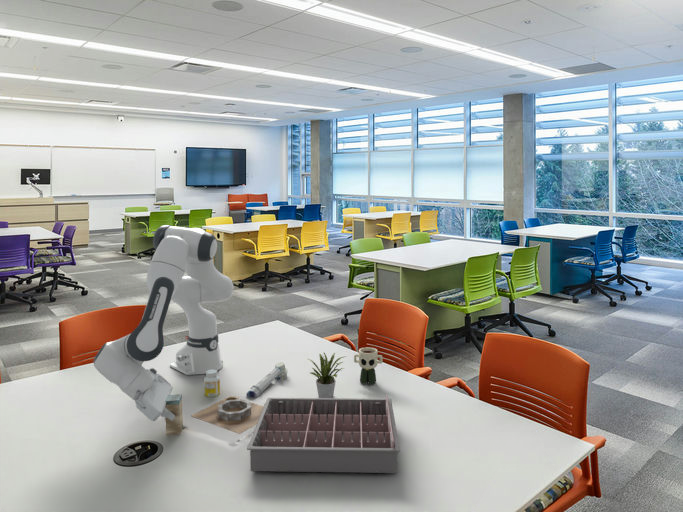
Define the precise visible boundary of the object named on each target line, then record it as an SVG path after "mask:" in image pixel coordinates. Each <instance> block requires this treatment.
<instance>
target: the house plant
mask: <svg viewBox="0 0 683 512" xmlns="http://www.w3.org/2000/svg"><path fill="white" fill-rule="evenodd" d="M335 354H336V352H334V353H333V354H332V355H331V357H330V359H329V360H328V357H327V354H326V353H325V352H323V354H321V353H319V356H318V357H319V362H320V368H319V366H318V364H317V363H315V362H314V360H313V359H310V358H308V360H309V361H310V362H311V363H312V364H313V365H314V366H315V367H316V368H314V367H311V368H312V370H313V371H311V372H309V374H311V375H313V376H314V377H315V378H317V379H316V380H315V384H316V390H317V395H318V398H334V393H335V387H336V379H335V378H337V377H338V372H340V371H342V370H344V369H345V367H344V368H343V367H341V368H340V369H339V368H337V367H338V366H340V365H341V364H342V363H344V361H341V362H339V363H338V361H340V360H341V359H343V358H346V357H348V356H347V355H346V356H340V357H338V358H337V359H336V360H335ZM335 365H336V366H335ZM332 369H333V370H332ZM334 372H335V373H334ZM333 373H334V374H333Z"/></svg>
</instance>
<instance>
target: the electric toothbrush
mask: <svg viewBox="0 0 683 512" xmlns="http://www.w3.org/2000/svg"><path fill="white" fill-rule="evenodd" d="M285 378H286V379H287V378H288V368H287V367H286V365H285V363H284V362H281V361H280V362H277V363H276V364H275V366H274V368H273V369H272V370H271V371H270V372H269V373H268V374H267V375H266V376H264V377H263V378H262V379H260V380H259V381H258V382H257V383H256V384H254V385H252V386H251V387H250V390H249V389H248V391H247V392H245V393H246V397H248V398H253V399H256V398H257V397H259V396H260V395H262V394H263V392H264V391H265V390H266V389H267V388H268V387H269V386H270V385H271V383H273V382H274V380H276V379H277V380H276V381H283V380H286V379H285ZM282 379H283V380H282Z"/></svg>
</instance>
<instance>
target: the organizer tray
mask: <svg viewBox="0 0 683 512" xmlns="http://www.w3.org/2000/svg"><path fill="white" fill-rule="evenodd" d="M399 443H400V442H399V438H398V432H397V426H396V420H395V414H394V408H393V402H392V399H391V398H388V394H385V398H343V397H342V398H337V397H335V398H334V397H333V398H319V397H317V398H316V397H267V398H266V401H265V404H264V408H263V410H262V413H261V415H260V418H259V420H258V423H257V424H256V425H255V427H254V430H253V433H252V435H251V437H250V440H249V443H248V445H247V447H246V450H247V451H249V453H250V455H249V457H250V460H249V461H250V472H297V473H298V472H300V473H301V472H302V473H303V472H306V473H317V472H318V473H320V472H321V473H371V474H372V473H374V474H375V473H379V474H380V473H381V474H383V473H385V474H391V473H392V474H396V473H397V463H398V462H397V454H398V453H399V452H401V450H400V444H399Z"/></svg>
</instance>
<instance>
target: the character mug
mask: <svg viewBox="0 0 683 512" xmlns="http://www.w3.org/2000/svg"><path fill="white" fill-rule="evenodd" d="M357 358H358V360H357ZM378 359H379V360H378ZM353 362H354V363H357V364H359V365H358V366H359V367H360V368H361V369H360V375H359V381H360V383H361V384H363V385H367V383H368V385H369V386H370V385H374V384H376V382H377V374H376V370H375V368H376V367H378V364H380V365H381V364H383V355H382V354H378V349H377V348H374V347H368V346H367V347H361V348H359V350H358V353H356V354H353Z"/></svg>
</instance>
